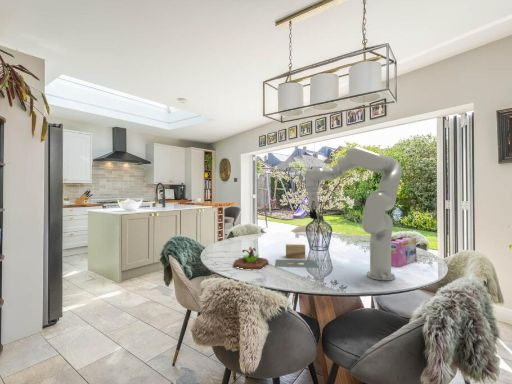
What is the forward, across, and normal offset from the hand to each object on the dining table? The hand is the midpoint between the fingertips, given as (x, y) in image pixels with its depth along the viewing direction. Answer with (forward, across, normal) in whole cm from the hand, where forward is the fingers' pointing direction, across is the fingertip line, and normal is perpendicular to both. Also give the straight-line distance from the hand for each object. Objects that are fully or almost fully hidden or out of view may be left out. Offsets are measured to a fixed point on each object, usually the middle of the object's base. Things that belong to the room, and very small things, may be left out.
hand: (313, 218), depth 165 cm
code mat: (+26, -7, +11) cm, 29 cm away
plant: (+26, -12, +37) cm, 47 cm away
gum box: (+28, +1, -50) cm, 57 cm away
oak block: (+26, +7, +11) cm, 29 cm away
